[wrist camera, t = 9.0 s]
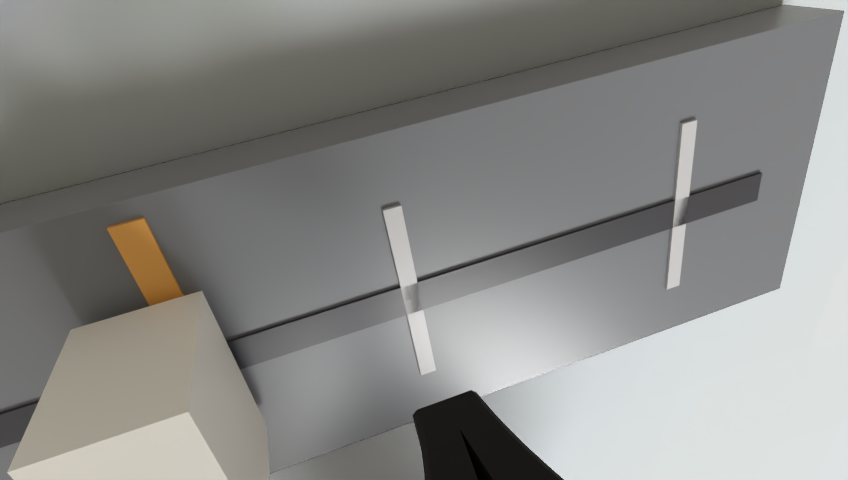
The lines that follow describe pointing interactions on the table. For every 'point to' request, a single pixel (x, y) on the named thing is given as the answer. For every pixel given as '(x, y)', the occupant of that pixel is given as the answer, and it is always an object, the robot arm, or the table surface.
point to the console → (443, 230)
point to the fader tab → (146, 403)
